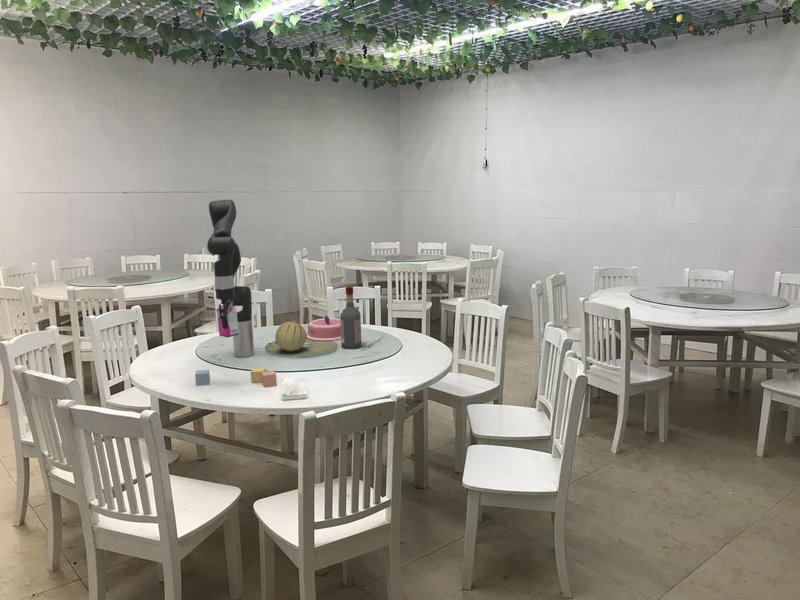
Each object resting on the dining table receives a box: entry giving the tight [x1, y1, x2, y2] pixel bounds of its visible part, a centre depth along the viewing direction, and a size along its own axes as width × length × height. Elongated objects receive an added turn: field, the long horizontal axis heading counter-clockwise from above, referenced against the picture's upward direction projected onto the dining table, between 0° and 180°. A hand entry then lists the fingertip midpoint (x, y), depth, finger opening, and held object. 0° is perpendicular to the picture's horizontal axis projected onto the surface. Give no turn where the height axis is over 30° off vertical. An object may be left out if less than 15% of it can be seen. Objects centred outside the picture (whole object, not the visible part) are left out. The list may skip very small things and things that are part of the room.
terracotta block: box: [261, 370, 278, 388], centre depth 245 cm, size 5×5×5 cm
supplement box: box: [216, 306, 239, 338], centre depth 245 cm, size 6×6×12 cm
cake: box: [306, 315, 341, 342], centre depth 321 cm, size 25×25×11 cm
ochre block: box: [250, 367, 267, 384], centre depth 250 cm, size 5×5×5 cm
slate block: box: [194, 369, 211, 387], centre depth 249 cm, size 5×5×5 cm
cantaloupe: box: [274, 319, 307, 353], centre depth 292 cm, size 15×15×15 cm
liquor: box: [339, 286, 362, 350], centre depth 296 cm, size 9×9×30 cm
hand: (227, 325), depth 245 cm, fingers closed on supplement box, 8 cm apart
